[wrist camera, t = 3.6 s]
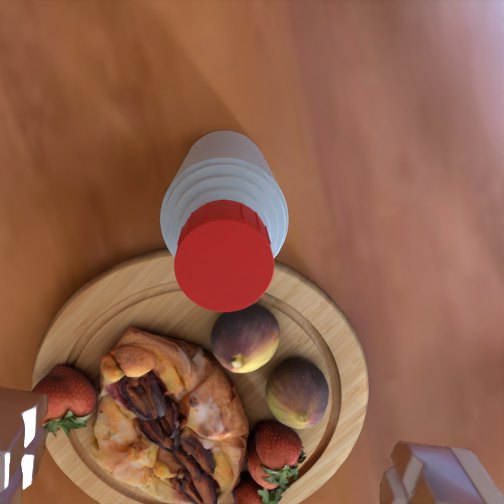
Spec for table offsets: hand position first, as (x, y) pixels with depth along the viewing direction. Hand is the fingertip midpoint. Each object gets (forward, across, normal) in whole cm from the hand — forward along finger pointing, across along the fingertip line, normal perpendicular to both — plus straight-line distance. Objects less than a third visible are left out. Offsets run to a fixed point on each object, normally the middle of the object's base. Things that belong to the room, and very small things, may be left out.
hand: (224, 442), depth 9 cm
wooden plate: (+31, +2, -22) cm, 38 cm away
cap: (+13, 0, 0) cm, 13 cm away
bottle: (+31, 0, 0) cm, 31 cm away
